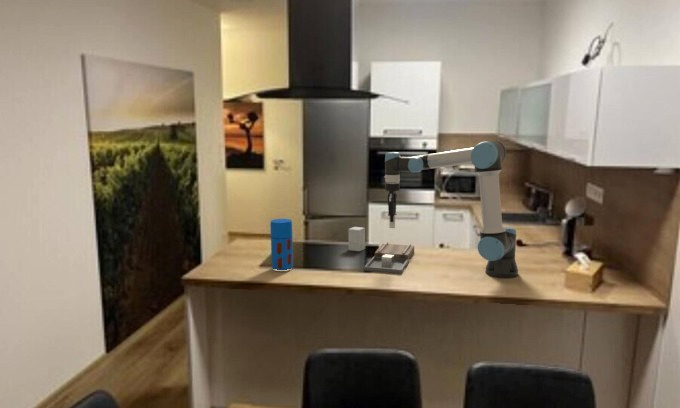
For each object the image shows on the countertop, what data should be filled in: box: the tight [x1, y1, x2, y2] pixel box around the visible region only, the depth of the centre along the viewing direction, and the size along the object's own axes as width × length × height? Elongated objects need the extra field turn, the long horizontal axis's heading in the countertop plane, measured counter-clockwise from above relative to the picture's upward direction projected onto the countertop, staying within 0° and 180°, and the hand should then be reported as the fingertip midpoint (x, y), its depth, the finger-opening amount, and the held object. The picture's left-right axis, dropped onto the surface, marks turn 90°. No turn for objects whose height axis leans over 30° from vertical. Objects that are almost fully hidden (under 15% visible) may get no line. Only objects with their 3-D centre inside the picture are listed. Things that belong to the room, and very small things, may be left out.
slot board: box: [374, 241, 415, 261], centre depth 276 cm, size 18×20×5 cm
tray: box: [363, 255, 410, 275], centre depth 257 cm, size 19×20×2 cm
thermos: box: [269, 218, 294, 270], centre depth 252 cm, size 11×11×25 cm
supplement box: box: [348, 226, 366, 252], centre depth 290 cm, size 7×7×13 cm
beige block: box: [382, 255, 393, 267], centre depth 256 cm, size 5×5×4 cm
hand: (392, 227), depth 260 cm, fingers closed
